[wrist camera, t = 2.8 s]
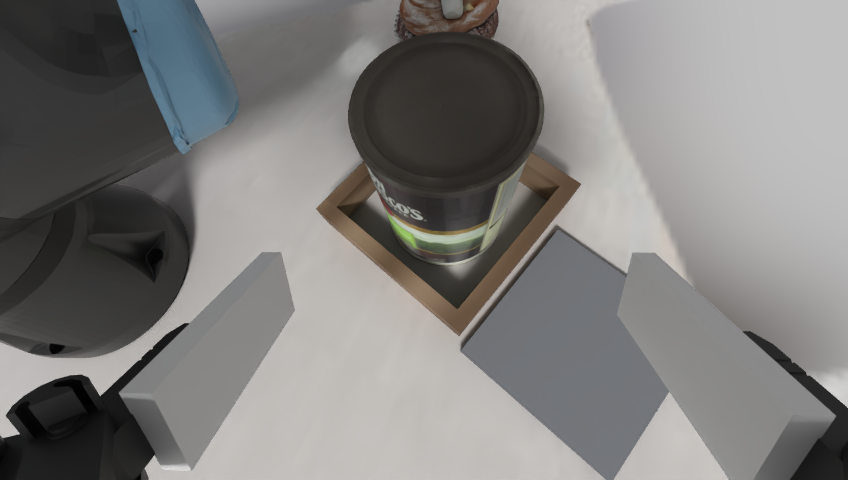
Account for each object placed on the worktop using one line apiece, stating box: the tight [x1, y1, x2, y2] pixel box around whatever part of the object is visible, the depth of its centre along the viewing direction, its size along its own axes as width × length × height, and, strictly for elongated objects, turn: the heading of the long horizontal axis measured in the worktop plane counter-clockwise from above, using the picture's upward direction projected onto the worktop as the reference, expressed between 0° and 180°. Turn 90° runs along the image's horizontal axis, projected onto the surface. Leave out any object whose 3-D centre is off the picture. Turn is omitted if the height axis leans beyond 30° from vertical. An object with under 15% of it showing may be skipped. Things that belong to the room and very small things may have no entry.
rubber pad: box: [461, 229, 669, 480], centre depth 27 cm, size 13×13×1 cm
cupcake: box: [394, 0, 499, 43], centre depth 33 cm, size 10×10×10 cm
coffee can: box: [348, 32, 544, 266], centre depth 25 cm, size 10×10×14 cm
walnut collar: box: [316, 152, 581, 336], centre depth 30 cm, size 15×15×3 cm
